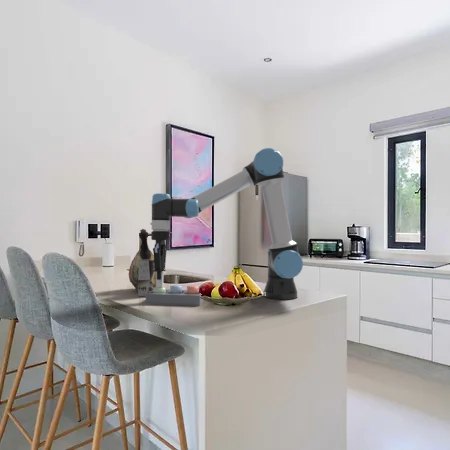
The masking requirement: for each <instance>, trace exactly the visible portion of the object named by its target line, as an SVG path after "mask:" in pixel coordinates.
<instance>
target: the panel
mask: <svg viewBox="0 0 450 450" xmlns="http://www.w3.org/2000/svg"><path fill="white" fill-rule="evenodd" d="M201 295H202V294H201V293H199V294H187V289H182V294H176V293H170V289H167V288H166V293H154V290H152V291H150V292H148V293H147V294H146V296H145V305H167V306H194V307H195V306H197V307H200V306H201V305H202V304H203V302H204V301H203V300H202V299H201V298H200V297H201Z"/></svg>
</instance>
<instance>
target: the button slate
mask: <svg viewBox="0 0 450 450" xmlns="http://www.w3.org/2000/svg"><path fill="white" fill-rule="evenodd" d="M182 290H183V286H182V285H181V284H173V285H170V293H176V294H182Z"/></svg>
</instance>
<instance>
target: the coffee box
mask: <svg viewBox="0 0 450 450" xmlns="http://www.w3.org/2000/svg"><path fill="white" fill-rule="evenodd" d="M154 270H155V268H154V259H144V260H139V277H138V291H137V293H138V294H137V296H139V297H146V294H147V293H148V292H150V291H152V290H154V287H156V272H154Z"/></svg>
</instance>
